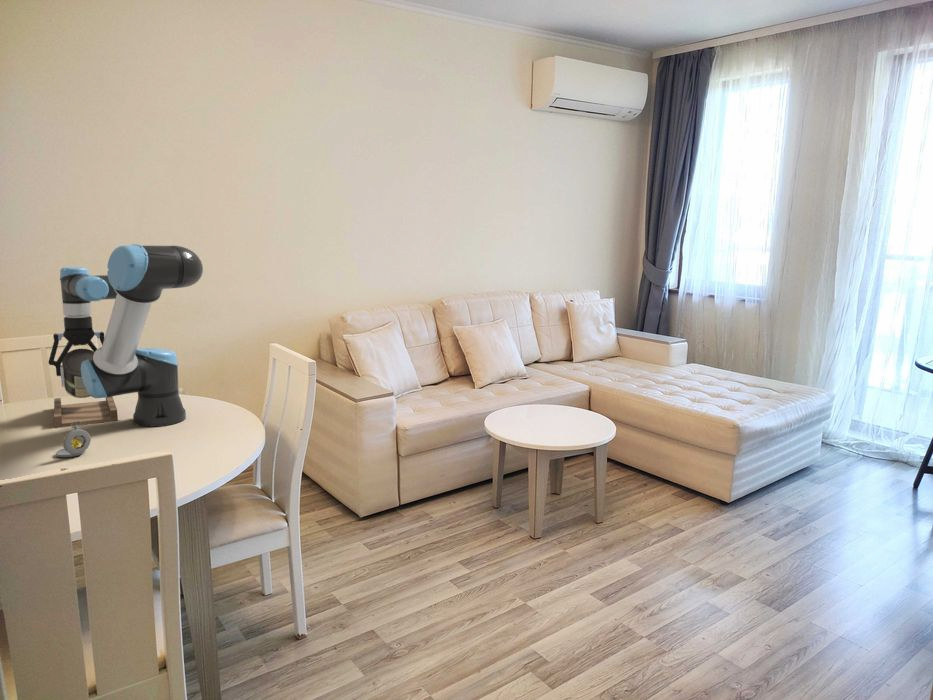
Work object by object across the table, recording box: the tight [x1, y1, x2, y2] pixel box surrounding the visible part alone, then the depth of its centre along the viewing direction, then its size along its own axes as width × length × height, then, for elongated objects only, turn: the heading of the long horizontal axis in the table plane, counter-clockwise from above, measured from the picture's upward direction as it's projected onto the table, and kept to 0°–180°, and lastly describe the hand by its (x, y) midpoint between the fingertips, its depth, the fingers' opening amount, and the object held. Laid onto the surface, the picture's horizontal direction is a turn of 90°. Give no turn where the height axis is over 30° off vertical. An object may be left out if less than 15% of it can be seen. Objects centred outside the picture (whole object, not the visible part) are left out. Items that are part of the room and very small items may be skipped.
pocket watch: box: [55, 421, 92, 458], centre depth 161 cm, size 8×8×10 cm
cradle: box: [53, 396, 119, 429], centre depth 197 cm, size 24×17×4 cm
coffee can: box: [61, 348, 95, 399], centre depth 196 cm, size 10×10×14 cm
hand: (83, 384), depth 196 cm, fingers closed on coffee can, 10 cm apart
